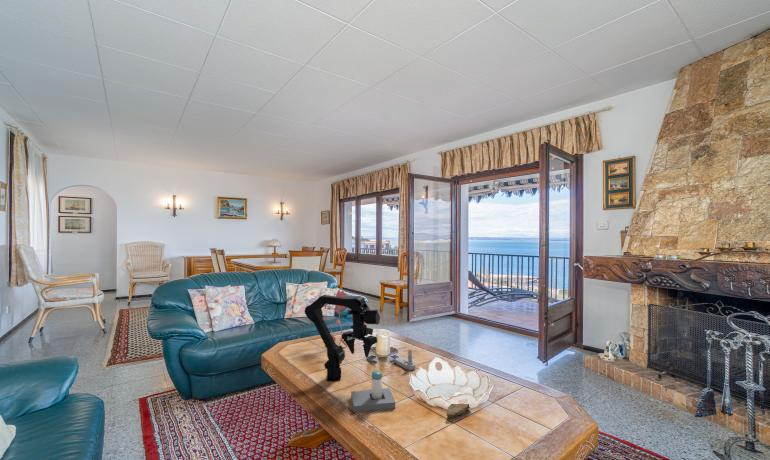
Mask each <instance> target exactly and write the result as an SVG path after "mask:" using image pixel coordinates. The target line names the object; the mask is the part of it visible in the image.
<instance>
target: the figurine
mask: <svg viewBox="0 0 770 460" xmlns="http://www.w3.org/2000/svg"><path fill="white" fill-rule="evenodd" d="M335 296H337V297H346V298H348V297H347V293H346V292H345V291H344V290H340V289H338V290H337V292H336V294H335ZM328 306H331V304H328ZM336 308H337V309H338V310H337V309H336ZM345 308H346V307H345V306H339V305H335V307H333V308H332V307H331V308H330V307H328V310H334V311H336V312H337V313H338V314H339V315H338V319H337V320H336V321H335V323H333V324H331V325H329V326H330V334H331V336H332V338H333V340H334V342H335V343H336V341H337V339H336V336H335V335H333V331H332V326H335V325H339V326H340V329H343V327H342V325H341V321H340V317H341V314H342V312H341V311H342V310H345ZM347 309H348V310H349V311H350V310H351V309H349V308H347ZM342 334H343V331H341V334H340V335H341V337H340V338H339V343H338V346H340V345H341V343H342V344H343V345H344V346H345V347H348V346H347V344H346V343H345V341H344V340H343V339H342Z"/></svg>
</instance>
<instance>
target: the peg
mask: <svg viewBox="0 0 770 460" xmlns="http://www.w3.org/2000/svg"><path fill="white" fill-rule="evenodd" d="M382 389H383V371H381V370H373V371H371V390H372V399H371V400H380V399H383V398H382Z"/></svg>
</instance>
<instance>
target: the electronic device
mask: <svg viewBox="0 0 770 460" xmlns="http://www.w3.org/2000/svg"><path fill="white" fill-rule="evenodd" d="M407 351H408V352H407V353H408V357H407V358H405V357H400V356H399V357H396V358H395V359H394V361H395V362H396V363H395V365H397V366H400V367H402V368H403V369H405V370H407V371H413V370H415V369H416V363H415V362H413V355H412V354H413V353H412V351H413V350H412V349H408V350H407Z"/></svg>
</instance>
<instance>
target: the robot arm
mask: <svg viewBox="0 0 770 460" xmlns="http://www.w3.org/2000/svg"><path fill="white" fill-rule="evenodd" d="M346 297H347V296H346ZM346 297H337V296H336V295H327V294H323V295H320V296H319V297H318V298H317V299H315V301H312V303H310V304H308V305H306V306H305V307H304V314H305V316H306V317H307V319H308V320H310V322H311V323H313V324H314V326H315V329H316V330H317V332H318V334H319V336H320V337H321V340H322V342H323V344H324V346H325V348H326V356H327V359H328V360H327V361H326V362H325V363H324V364H323V366H324V369H326V382H335V381H336V382H338V381H341V378H342V368H341V364H342V363H343V361H344V360H345V358H346V357H345V356H346V354H345V353H346V350H344V349H343V346H342V345H341V344H340V345H339V344H337V343H336V341H335V342H334V340H333V338H332V336H331V335H332V333H331V331H330V330H329V327H328V326H327V324H326V321H325V320H324V318H323V310H322V309H323V307H325V305H329V304H330V306H331V305H333V306H336V305H339V306H345V308H347V309H348V308H349V309H350V310H349V309H348V310H349V312H347V314H348V315H351V317H352V325H350V329H352V331H351V330H348V331H345V332H342V340H344V342H345V343H346V345H347V347H348V349H349V351H350V353H351V355H353V354H355V341H356V340H358V341H362V343H363V344H362V347H363V352H364V356H365V358H366V359H367V358H369V356H370V352H371V348H372V347H373V346H374V345H375V344H376V343H378V338H377V336H375V335H373V334H374V333H373V332H374V328H372V327H371V328H370V327H368V326H367V325H379V324H380V322H381V315H380V313H379V310H378V309H371V308H370V307H369V305H368V304H367V302H366V300H365V298H364V297H363V296H360V295H359V296H350V297H349V296H348V297H347V298H346Z"/></svg>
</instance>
